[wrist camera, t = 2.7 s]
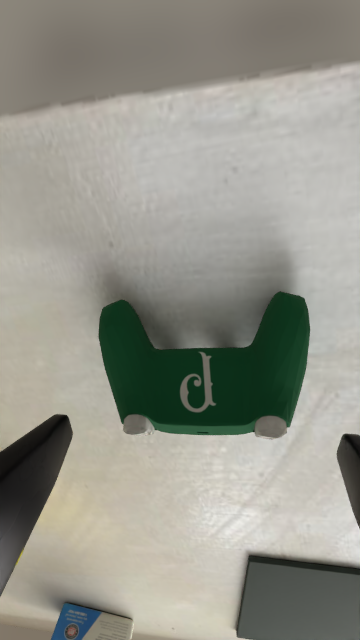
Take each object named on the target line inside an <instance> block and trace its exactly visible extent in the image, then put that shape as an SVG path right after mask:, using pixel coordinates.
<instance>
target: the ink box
mask: <svg viewBox="0 0 360 640" xmlns="http://www.w3.org/2000/svg"><path fill="white" fill-rule="evenodd" d="M133 624H134V622H133V620H131V619H127V618H124V617H120V616H116V615H112V614H108V613H104V612H100V611H97V610H93V609H89V608H85V607H81V606H77V605H73V604H69V603H64V605H63V608H62V610H61V613H60V616H59V619H58V621H57V624H56V627H55V630H54V633H53V635H52V638H51V640H131V639H132V632H133Z"/></svg>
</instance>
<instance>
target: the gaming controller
mask: <svg viewBox="0 0 360 640" xmlns="http://www.w3.org/2000/svg"><path fill="white" fill-rule="evenodd" d="M309 336H310V324H309V314H308V309H307V305H306V302H305V299H304V298H302V297H301V296H297V295H293V294H288V293H284V292H281V291H280V292H278V293H276V294H275V295H274V297H273V298H272V299H271V301H270V303H269V305H268V307H267V308H266V310H265V313H264V315H263V318H262V321H261V323H260V326H259V329H258V331H257V334H256V336H255V339H254V340H253V342H252V344H251V345H250V346H248V347H244V348H192V349H166V350H159V349H156V348H155V347H153V345H152V344H151V342H150V340H149V338H148V336H147V334H146V332H145V330H144V327H143V325H142V323H141V321H140V319H139V317H138V315H137V313H136V312H135V311H134V309H133V308H132V306H131V305H130V304H129V303H128V302H127V301H125V300H119V301H117V302H115V303H112V304H110V305H107V306H106V307H104V308H103V309H102V312H101V316H100V322H99V341H100V346H101V351H102V357H103V362H104V366H105V370H106V373H107V376H108V380H109V383H110V386H111V389H112V392H113V396H114V399H115V402H116V406H117V409H118V412H119V416H120V419H121V422H122V424H124V426H123V430H124V432H125V433H127V434H131V435H135V436H144V435H151V434H153V433H154V430H159V431H161V432H166V433H174V434H191V435H239V434H247V433H250V432H255V435H256V437H260V438H265V439H275V438H280V437H282V436H284V435H285V434H286V433H287V427H290V424H291V421H292V418H293V415H294V411H295V408H296V405H297V401H298V398H299V395H300V391H301V387H302V383H303V379H304V375H305V371H306V365H307V356H308V346H309Z"/></svg>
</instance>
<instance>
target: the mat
mask: <svg viewBox="0 0 360 640" xmlns="http://www.w3.org/2000/svg"><path fill="white" fill-rule="evenodd" d="M237 637H238V638H245V639H251V640H360V569H353V568H345V567H336V566H328V565H320V564H312V563H303V562H295V561H287V560H278V559H270V558H262V557H254V556H249V559H248V565H247V572H246V578H245V584H244V590H243V596H242V602H241V609H240V615H239V621H238V627H237Z"/></svg>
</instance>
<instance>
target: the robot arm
mask: <svg viewBox="0 0 360 640" xmlns="http://www.w3.org/2000/svg"><path fill="white" fill-rule="evenodd" d="M72 435H73V432H72V428H71V424H70V421H69V417H68V416H67V415H61V414H56V415H54V416H52V417H51V418H49V419H48V420H46V421H45V422H43V423H42V424H40V425H39V426H37V427H36V428H35V429H33V430H32V431H30V432H29V433H27V434H26V435H24V436H23V437H21V438H20V439H19V440H17V441H16V442H14V443H13V444H11V445H10V446H8V447H7V448H6V449H4V450H3V451H1V452H0V596H1V594H2V592H3V590H4V588H5V586H6V584H7V582H8V580H9V578H10V576H11V574H12V572H13V570H14V567H15V565H16V563H17V561H18V559H19V557H20V555H21V553H22V551H23V549H24V547H25V545H26V543H27V541H28V539H29V536H30V534H31V532H32V530H33V528H34V526H35V524H36V522H37V520H38V518H39V516H40V514H41V512H42V510H43V508H44V506H45V503H46V501H47V499H48V497H49V495H50V493H51V491H52V489H53V487H54V484H55V482H56V480H57V477H58V474H59V472H60V469H61V466H62V464H63V461H64V458H65V456H66V453H67V450H68V448H69V445H70V442H71V440H72ZM337 460H338V463H339V466H340V470H341V473H342V477H343V480H344V483H345V487H346V490H347V493H348V497H349V500H350V503H351V507H352V510H353V513H354V515H355V518H356V521H357V523H358V526H359V528H360V436H359V435H356V434H344V435H343V436H342V438H341V441H340V444H339V447H338V450H337Z"/></svg>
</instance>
